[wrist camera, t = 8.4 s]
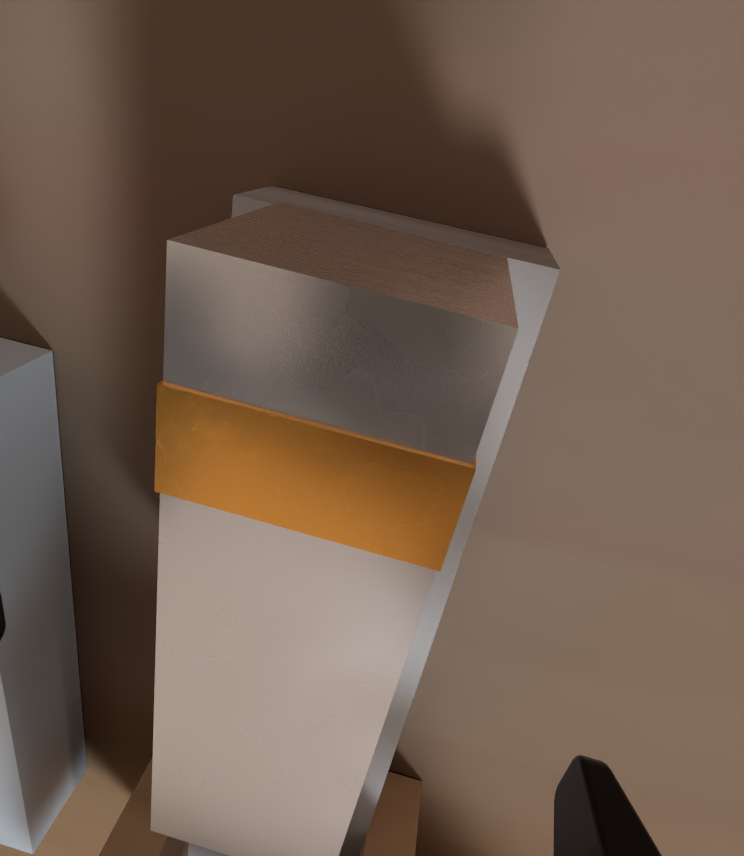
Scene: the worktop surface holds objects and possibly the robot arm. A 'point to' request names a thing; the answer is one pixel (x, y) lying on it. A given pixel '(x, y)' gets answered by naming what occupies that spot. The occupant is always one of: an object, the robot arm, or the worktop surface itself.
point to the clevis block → (385, 791)
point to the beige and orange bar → (304, 506)
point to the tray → (35, 607)
